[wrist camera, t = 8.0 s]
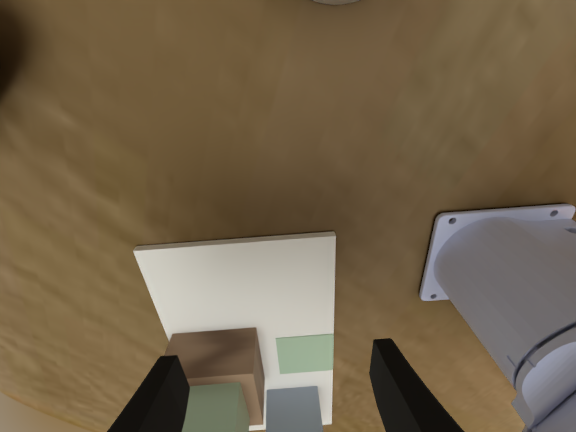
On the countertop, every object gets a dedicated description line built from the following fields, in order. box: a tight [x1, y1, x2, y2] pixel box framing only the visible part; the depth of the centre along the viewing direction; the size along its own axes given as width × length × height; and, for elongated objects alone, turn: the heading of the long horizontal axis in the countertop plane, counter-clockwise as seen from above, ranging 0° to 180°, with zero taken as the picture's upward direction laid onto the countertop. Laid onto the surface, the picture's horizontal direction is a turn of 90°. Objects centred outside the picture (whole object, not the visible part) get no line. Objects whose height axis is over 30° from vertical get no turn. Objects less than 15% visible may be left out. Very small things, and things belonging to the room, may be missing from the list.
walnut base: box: [164, 327, 265, 426], centre depth 24 cm, size 7×7×4 cm
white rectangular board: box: [133, 231, 336, 431], centre depth 26 cm, size 14×25×1 cm, turn 4°
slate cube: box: [266, 386, 323, 432], centre depth 27 cm, size 5×5×5 cm
